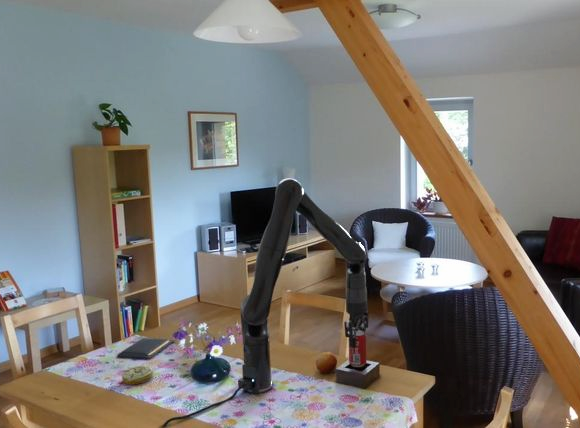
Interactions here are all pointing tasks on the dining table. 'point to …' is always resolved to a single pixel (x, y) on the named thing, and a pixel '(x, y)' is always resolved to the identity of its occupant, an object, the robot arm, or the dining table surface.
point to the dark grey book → (145, 348)
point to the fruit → (326, 362)
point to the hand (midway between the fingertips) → (357, 344)
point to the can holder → (358, 374)
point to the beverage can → (358, 350)
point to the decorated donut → (137, 374)
